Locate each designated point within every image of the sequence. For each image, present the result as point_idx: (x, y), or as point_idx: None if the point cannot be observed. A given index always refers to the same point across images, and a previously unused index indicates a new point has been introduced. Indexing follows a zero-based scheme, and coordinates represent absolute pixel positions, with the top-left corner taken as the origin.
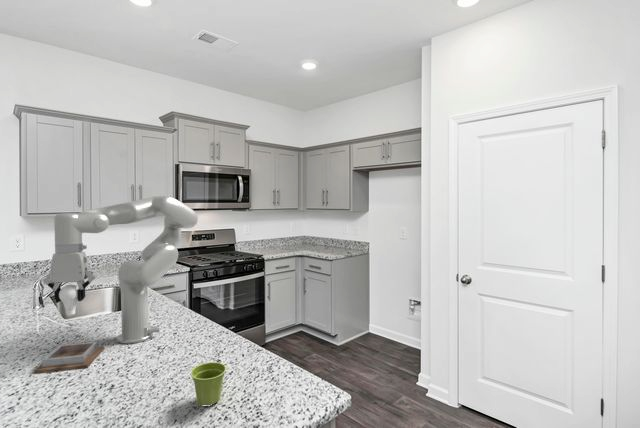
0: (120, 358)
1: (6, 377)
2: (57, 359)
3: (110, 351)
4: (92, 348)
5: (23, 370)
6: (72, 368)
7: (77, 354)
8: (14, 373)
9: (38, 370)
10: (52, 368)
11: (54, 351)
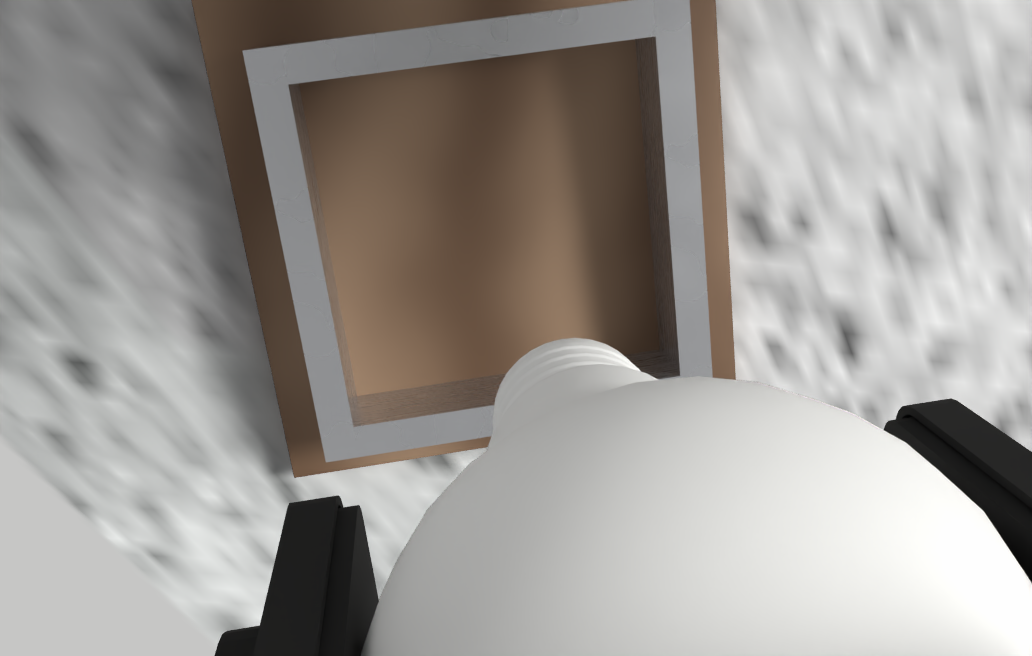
0: (961, 226)
1: (86, 511)
2: (468, 435)
3: (802, 29)
4: (696, 173)
5: (135, 393)
6: None
7: (511, 153)
8: (96, 444)
9: (329, 468)
10: (444, 451)
11: (307, 251)
